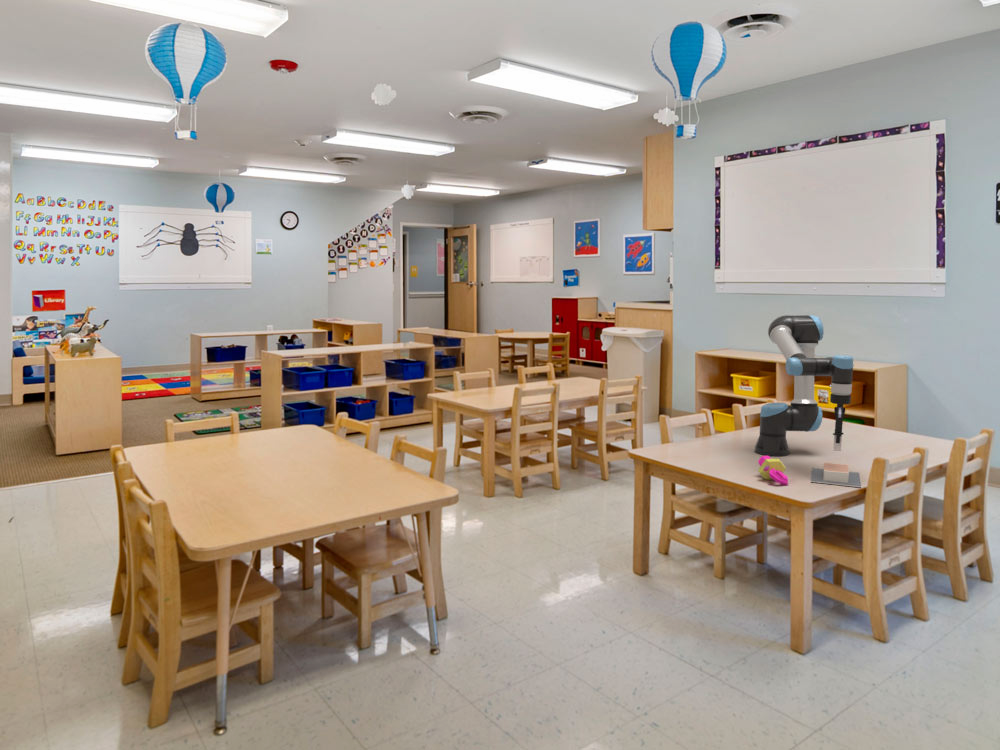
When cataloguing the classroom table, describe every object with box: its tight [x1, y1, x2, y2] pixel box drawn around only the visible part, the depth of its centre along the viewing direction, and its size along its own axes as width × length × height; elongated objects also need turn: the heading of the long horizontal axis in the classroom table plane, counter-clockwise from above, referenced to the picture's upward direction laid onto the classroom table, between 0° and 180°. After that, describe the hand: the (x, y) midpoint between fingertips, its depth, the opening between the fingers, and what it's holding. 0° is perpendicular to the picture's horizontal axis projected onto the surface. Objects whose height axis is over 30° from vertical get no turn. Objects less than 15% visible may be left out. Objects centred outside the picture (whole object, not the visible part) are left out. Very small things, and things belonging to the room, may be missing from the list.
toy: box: [757, 455, 789, 485], centre depth 284 cm, size 10×18×10 cm
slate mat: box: [810, 467, 862, 489], centre depth 286 cm, size 22×18×1 cm
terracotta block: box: [823, 462, 850, 483], centre depth 285 cm, size 4×9×14 cm
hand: (837, 450), depth 286 cm, fingers closed
